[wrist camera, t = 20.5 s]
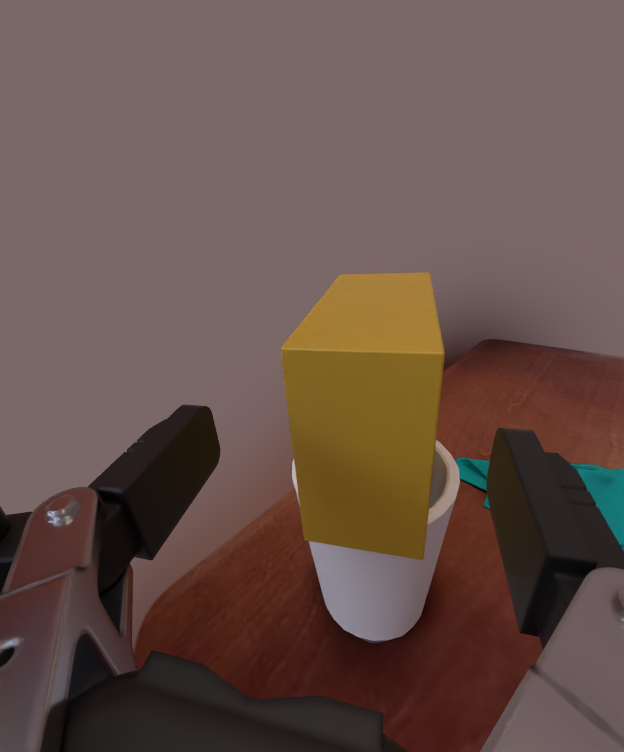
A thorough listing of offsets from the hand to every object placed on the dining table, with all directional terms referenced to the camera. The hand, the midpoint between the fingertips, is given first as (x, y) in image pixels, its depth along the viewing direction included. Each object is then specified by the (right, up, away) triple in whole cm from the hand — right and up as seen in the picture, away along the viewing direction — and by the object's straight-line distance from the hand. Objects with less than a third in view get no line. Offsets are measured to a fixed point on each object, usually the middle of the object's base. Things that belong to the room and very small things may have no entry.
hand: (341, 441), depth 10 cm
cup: (+4, -15, +17) cm, 23 cm away
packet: (+3, -3, +11) cm, 12 cm away
